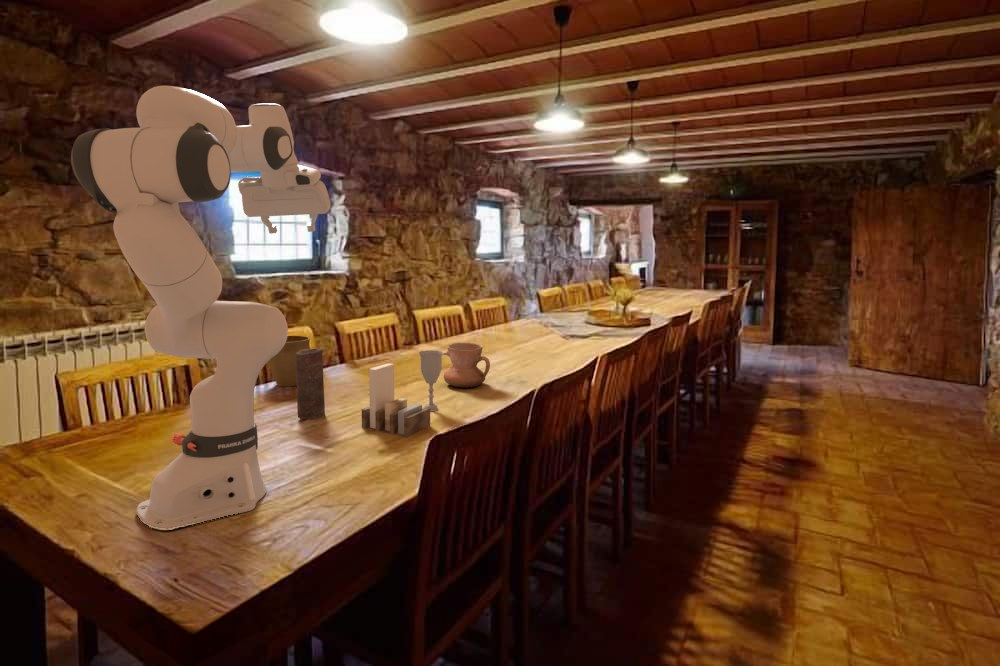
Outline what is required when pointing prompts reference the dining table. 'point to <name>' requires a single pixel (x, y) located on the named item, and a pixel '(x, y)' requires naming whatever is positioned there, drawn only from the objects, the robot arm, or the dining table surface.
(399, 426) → the offcut
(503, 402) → the dining table surface
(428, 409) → the rack
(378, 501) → the dining table surface
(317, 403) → the dark stone block
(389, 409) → the offcut
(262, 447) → the dining table surface
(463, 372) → the ceramic jug
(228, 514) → the robot arm
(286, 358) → the plant pot
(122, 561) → the dining table surface
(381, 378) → the tall board
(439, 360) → the chalice
